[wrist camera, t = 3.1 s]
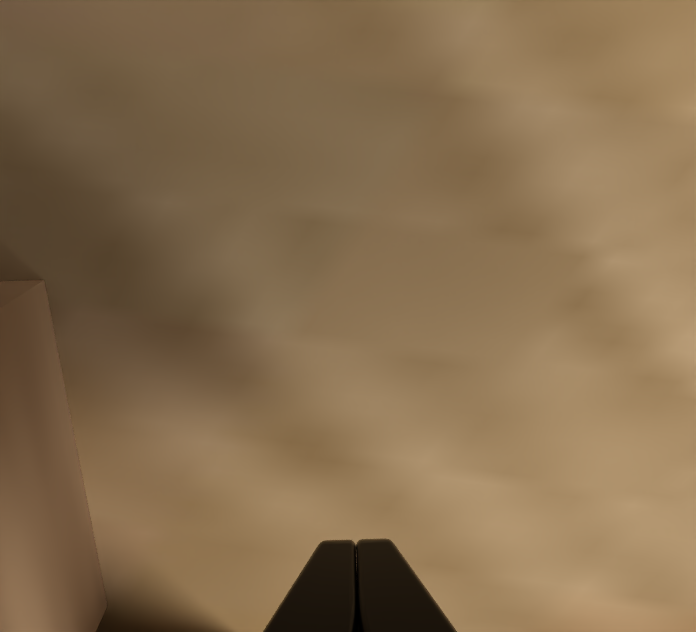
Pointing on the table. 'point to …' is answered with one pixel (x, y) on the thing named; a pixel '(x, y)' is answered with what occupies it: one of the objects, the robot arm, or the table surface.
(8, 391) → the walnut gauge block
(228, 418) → the table surface
